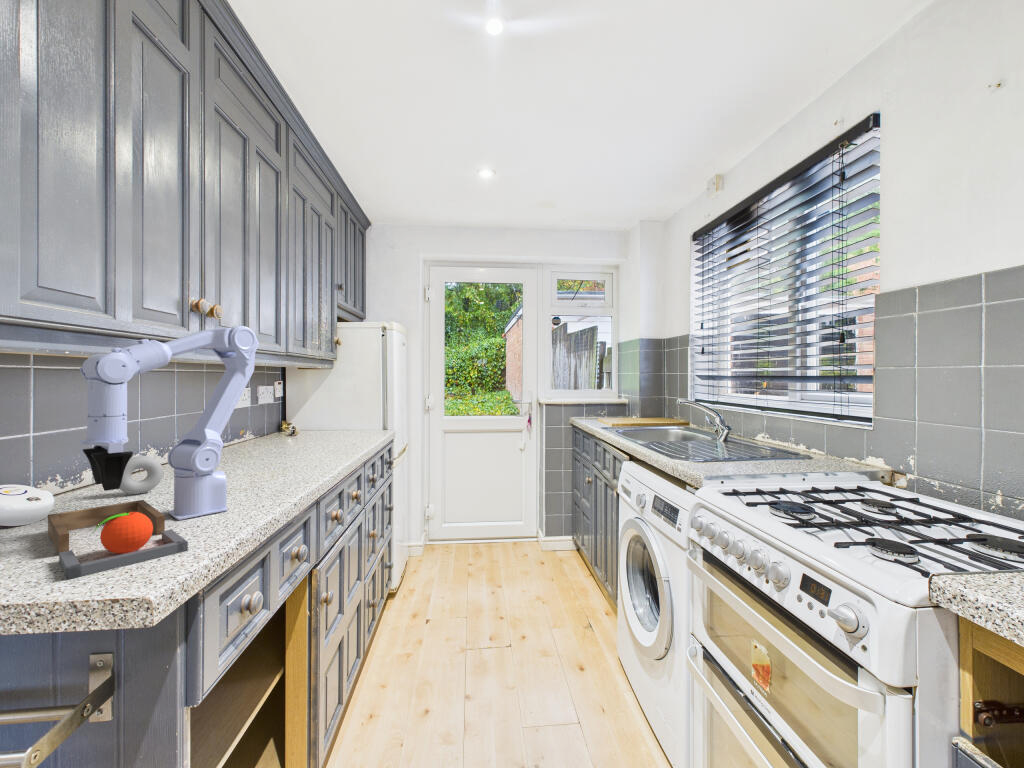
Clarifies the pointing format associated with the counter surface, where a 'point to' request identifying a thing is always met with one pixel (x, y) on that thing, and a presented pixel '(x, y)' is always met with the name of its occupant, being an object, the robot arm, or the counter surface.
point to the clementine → (126, 532)
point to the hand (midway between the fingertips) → (107, 486)
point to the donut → (149, 482)
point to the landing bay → (122, 557)
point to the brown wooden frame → (97, 520)
